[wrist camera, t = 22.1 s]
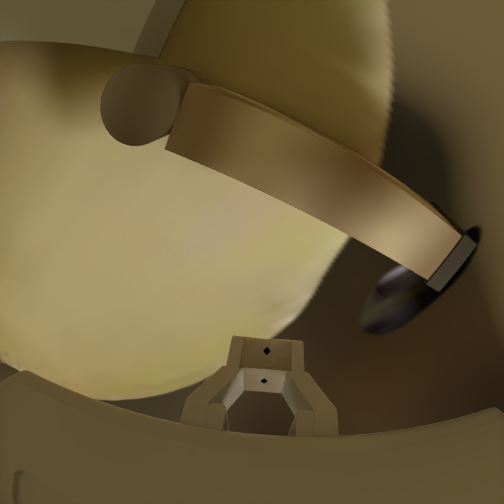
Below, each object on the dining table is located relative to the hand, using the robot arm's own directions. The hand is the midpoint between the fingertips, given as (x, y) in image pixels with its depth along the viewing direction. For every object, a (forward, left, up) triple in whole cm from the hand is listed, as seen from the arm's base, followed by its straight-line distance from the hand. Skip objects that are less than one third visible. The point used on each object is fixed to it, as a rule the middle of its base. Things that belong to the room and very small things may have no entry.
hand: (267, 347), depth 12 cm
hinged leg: (-1, +6, -7) cm, 10 cm away
